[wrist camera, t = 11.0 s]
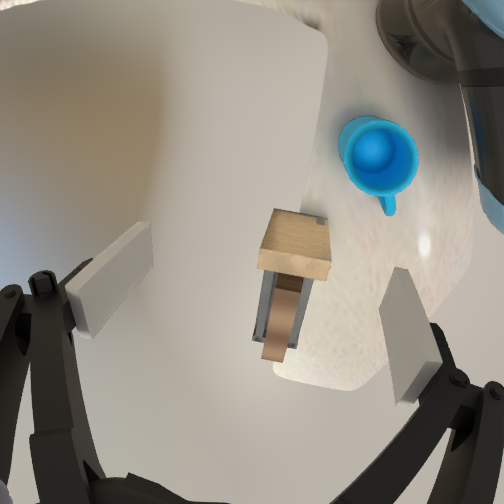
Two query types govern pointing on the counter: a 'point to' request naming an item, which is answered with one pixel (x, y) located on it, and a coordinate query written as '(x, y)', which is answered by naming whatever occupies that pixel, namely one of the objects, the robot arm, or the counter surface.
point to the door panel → (282, 316)
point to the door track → (291, 262)
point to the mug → (378, 158)
